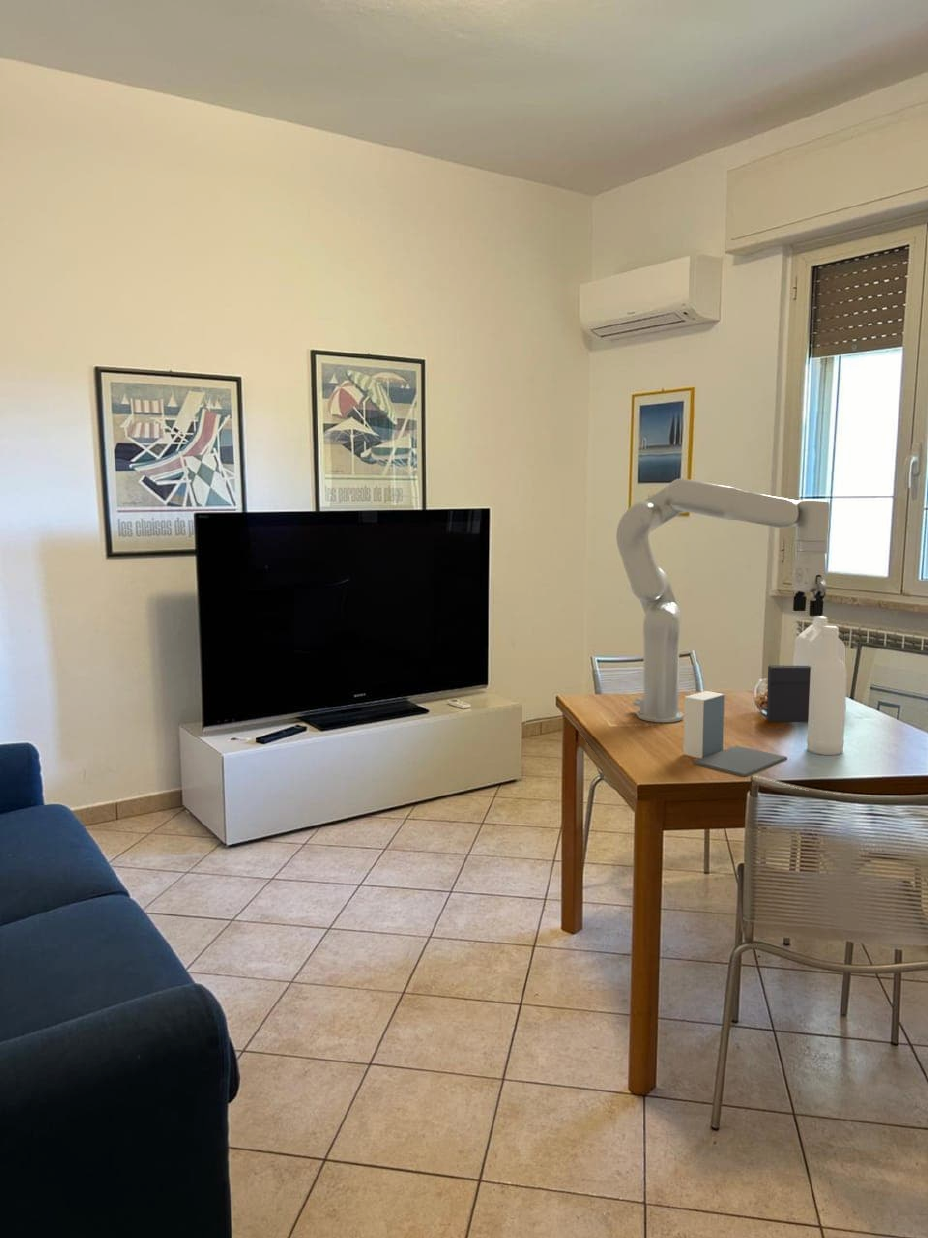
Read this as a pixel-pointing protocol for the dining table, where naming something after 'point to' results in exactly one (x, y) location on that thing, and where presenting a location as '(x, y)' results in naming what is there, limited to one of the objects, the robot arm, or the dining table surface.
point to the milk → (813, 644)
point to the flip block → (704, 724)
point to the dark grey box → (788, 693)
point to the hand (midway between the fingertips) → (807, 613)
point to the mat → (740, 760)
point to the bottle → (827, 697)
